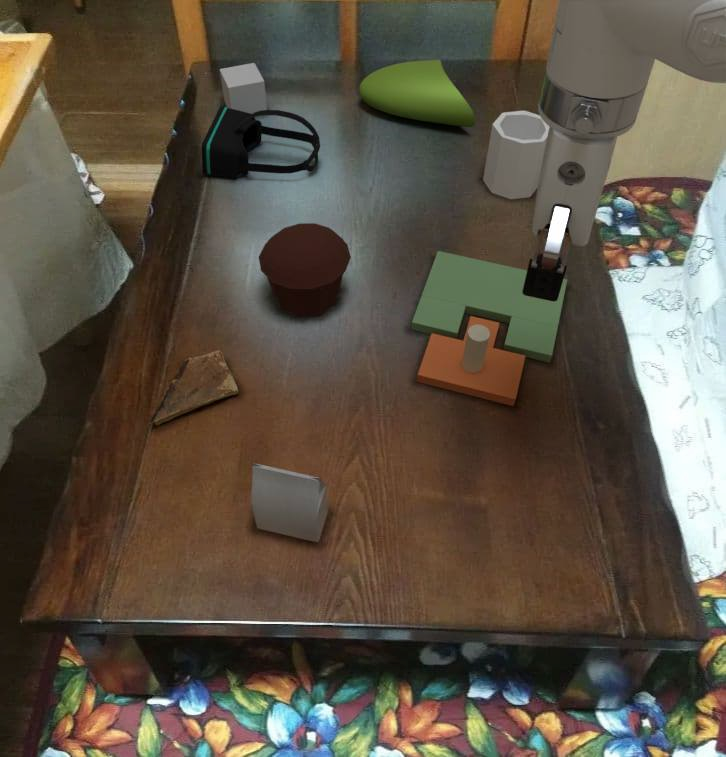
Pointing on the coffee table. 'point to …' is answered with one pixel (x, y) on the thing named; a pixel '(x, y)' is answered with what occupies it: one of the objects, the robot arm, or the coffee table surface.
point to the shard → (196, 386)
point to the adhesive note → (243, 88)
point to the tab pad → (472, 383)
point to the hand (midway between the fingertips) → (548, 261)
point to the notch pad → (487, 304)
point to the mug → (515, 154)
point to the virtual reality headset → (249, 143)
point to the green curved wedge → (417, 93)
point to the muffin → (305, 268)
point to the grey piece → (288, 502)
